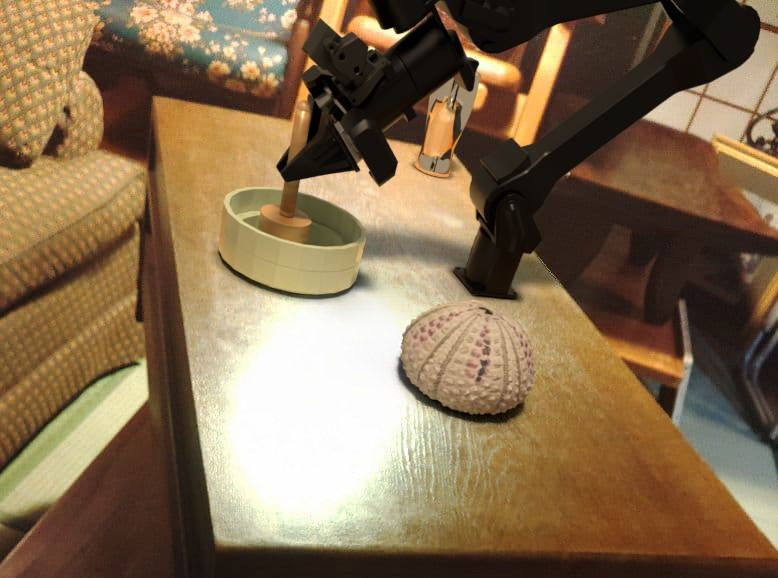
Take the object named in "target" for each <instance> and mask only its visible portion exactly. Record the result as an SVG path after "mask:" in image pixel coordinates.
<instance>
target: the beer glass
mask: <svg viewBox="0 0 778 578" xmlns="http://www.w3.org/2000/svg"><path fill="white" fill-rule="evenodd" d="M481 77H482V74H481V73H480V72H479V71H478V70H477V71H476V75H475V83H474V89H473V90H472V91H471V92H468V91H466V90H465V89H463V88H461V87H460V86H458V85H457V84H456V82H455V80H454V78H452V79H451V80H449V81H448V82H447V83H446V84H444V85H443V86H442V87H440V88H439V89H438V90H437V91H435V92H434V93H433V94H431V95H430V96H429V99H428V105H427V110H426V111H427V113H426V119H425V128H424V134H423V135H424V137H423V141H422V144H421V147H420V150H419V153H418V155H417V156H416V159H415V161H414V167H415V168H416V169H417V170H419V171H420V172H422V173H424V174H427V175H429V176H433V177H436V178H437V177H438V178H448V177H449V176H450V175H451V169H452V162H453V157H454V153H455V150H456V148H457V145H458V142H459V140H460V138H461V136H462V135H463V132H464V131H465V128H466V126H467V124H468V122H469V119H470V117H471V114H472V111H473V108H474V105H475V102H476V98H477V94H478V89H479V85H480V81H481Z"/></svg>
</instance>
